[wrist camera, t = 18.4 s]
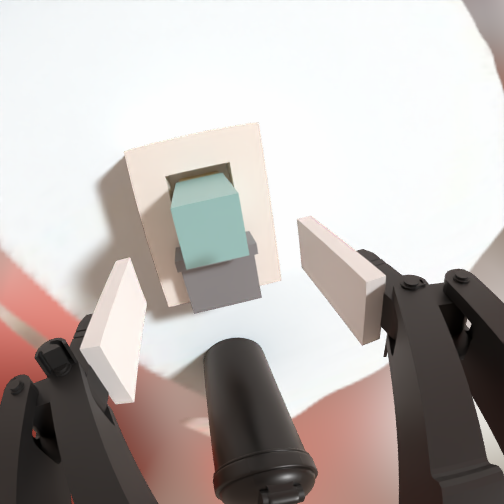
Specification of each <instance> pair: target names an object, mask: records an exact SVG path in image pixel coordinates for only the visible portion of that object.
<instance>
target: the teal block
mask: <svg viewBox="0 0 504 504" xmlns="http://www.w3.org/2000/svg"><path fill="white" fill-rule="evenodd" d="M170 209H171V213H172V217H173V221H174V225H175V229H176V232H177V236H178V240H179V244H180V247H181V251H182V255H183V258H184V262H185V266H186V269H187V270H188V269H192V268H197V267H201V266H205V265H210V264H214V263H218V262H222V261H227V260H231V259H235V258H240V257H244V256H248V255H249V250H248V244H247V238H246V233H245V227H244V221H243V216H242V210H241V205H240V199H239V193H238V192H237V191H236V189H235V188H234V187H233V186H232V184H231V183H230V182H229V180H228V179H227V178H226V177H225V175H224V174H223V173H219V172H218V171H213V172H209V173H204V174H199V175H195V176H191V177H186V178H182V179H179V182H177V183H176V185H175V189H174V194H173V198H172V203H171V208H170Z"/></svg>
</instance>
